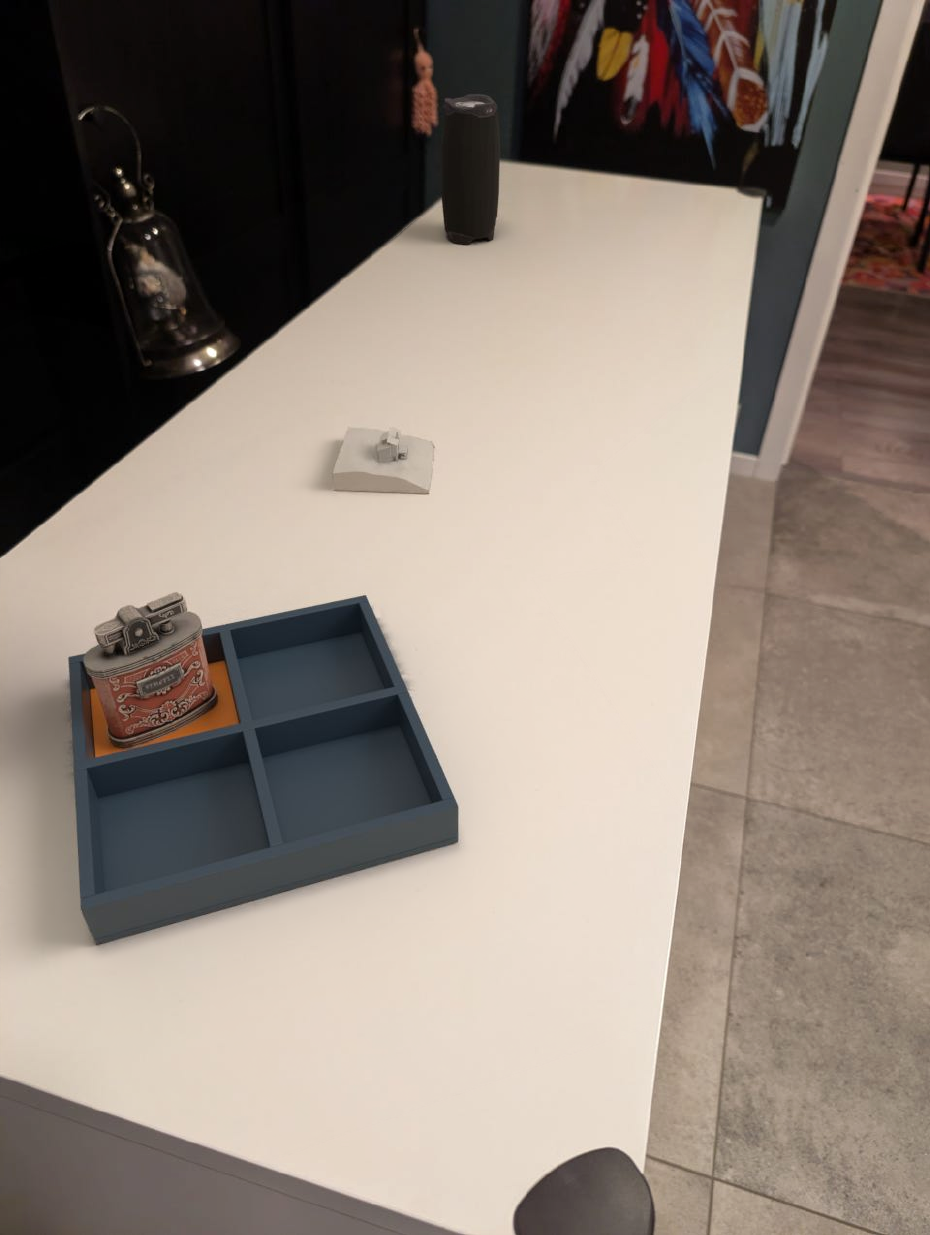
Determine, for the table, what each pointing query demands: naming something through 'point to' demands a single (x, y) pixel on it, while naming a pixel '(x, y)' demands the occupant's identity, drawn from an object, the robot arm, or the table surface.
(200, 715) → the lighter
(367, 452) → the miniature house
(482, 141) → the portable speaker
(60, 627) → the table surface
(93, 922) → the tray
